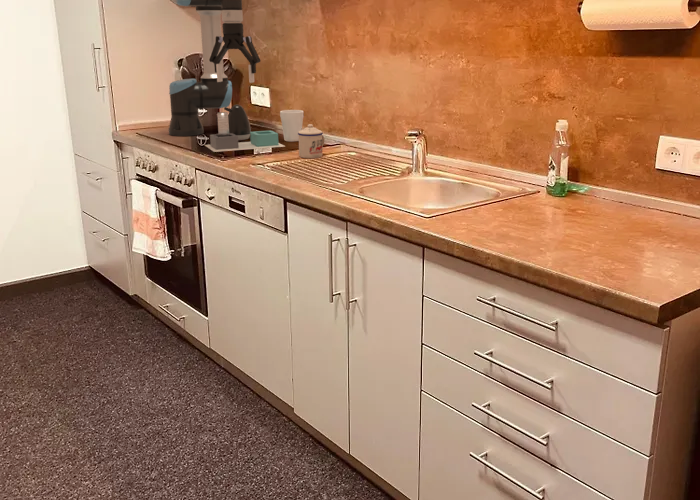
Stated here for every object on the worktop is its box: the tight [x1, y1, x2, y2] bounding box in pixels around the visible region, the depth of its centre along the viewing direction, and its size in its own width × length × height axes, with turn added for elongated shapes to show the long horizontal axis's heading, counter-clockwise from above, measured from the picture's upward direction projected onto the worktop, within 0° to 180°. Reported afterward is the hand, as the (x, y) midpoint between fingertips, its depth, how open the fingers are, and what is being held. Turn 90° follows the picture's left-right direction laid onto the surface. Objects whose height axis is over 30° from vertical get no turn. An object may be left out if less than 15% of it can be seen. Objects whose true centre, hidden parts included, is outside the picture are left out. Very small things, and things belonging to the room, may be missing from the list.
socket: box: [250, 130, 279, 147], centre depth 272 cm, size 9×9×4 cm
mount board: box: [204, 133, 286, 153], centre depth 269 cm, size 16×28×6 cm, turn 114°
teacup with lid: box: [298, 123, 325, 159], centre depth 256 cm, size 12×9×12 cm
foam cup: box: [279, 109, 305, 142], centre depth 280 cm, size 10×9×13 cm
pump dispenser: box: [223, 104, 252, 141], centre depth 284 cm, size 10×10×15 cm
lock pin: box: [216, 111, 229, 137], centre depth 264 cm, size 4×4×13 cm
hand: (235, 82), depth 260 cm, fingers open, 13 cm apart
